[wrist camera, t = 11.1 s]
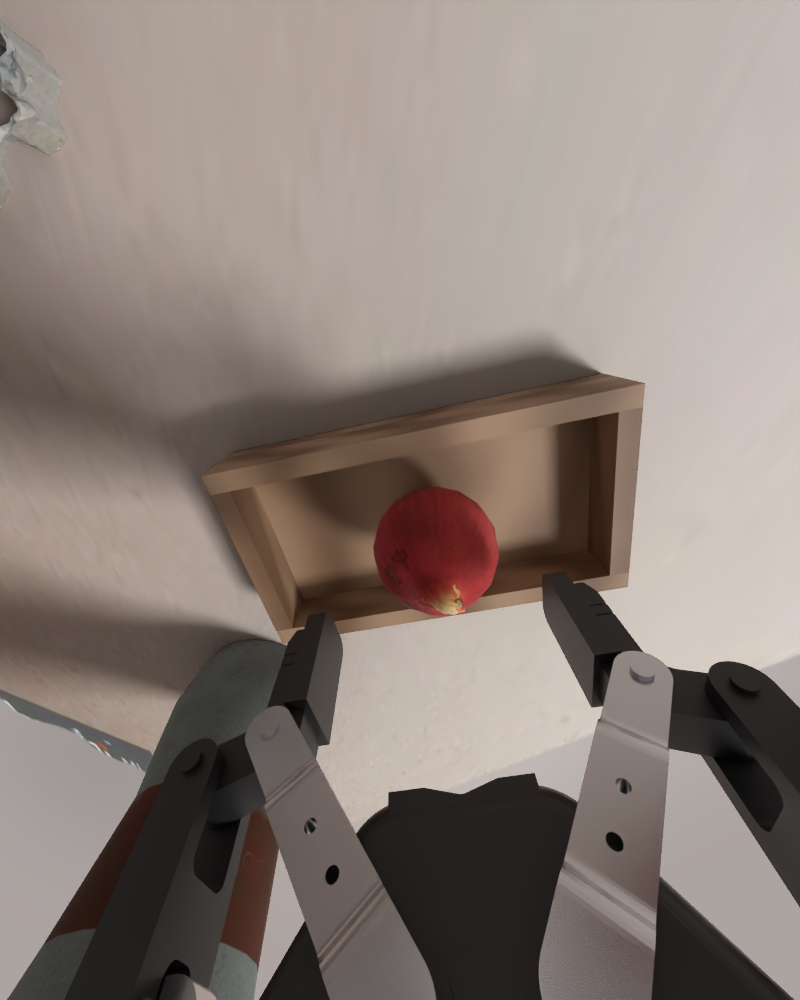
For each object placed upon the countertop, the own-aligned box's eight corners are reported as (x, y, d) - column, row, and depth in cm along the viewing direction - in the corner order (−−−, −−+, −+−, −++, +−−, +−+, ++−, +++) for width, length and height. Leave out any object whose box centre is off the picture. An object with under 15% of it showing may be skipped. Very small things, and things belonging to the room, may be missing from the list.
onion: (414, 569, 22) (423, 686, 15) (357, 501, 20) (334, 600, 13) (497, 522, 21) (551, 626, 14) (444, 443, 19) (475, 518, 11)
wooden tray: (297, 602, 25) (282, 643, 21) (231, 452, 20) (200, 476, 17) (596, 550, 23) (627, 586, 20) (601, 373, 18) (645, 383, 15)
